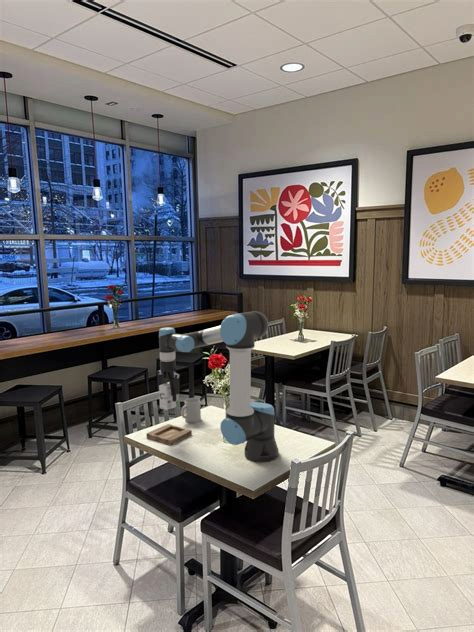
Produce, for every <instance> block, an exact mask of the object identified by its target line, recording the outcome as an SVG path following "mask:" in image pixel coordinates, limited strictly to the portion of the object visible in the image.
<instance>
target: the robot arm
mask: <svg viewBox="0 0 474 632" xmlns="http://www.w3.org/2000/svg"><path fill="white" fill-rule="evenodd" d="M268 330H269V320H268V318H267V317H266V315H265V314H263V313H262V312H261V311H256V310H255V311H254V310H252V311H246V312H240V313H233V314H231V315H230V314H229V315H228V316H226V317H225V318H224V319H223V320H222V321H221V324H220V325H217V326H214V327H210V328H206V329H202V330H199V331H194V332H193V331H192V332H189V333H182V334H181V333H176V329H175V328H174V327H169V326H168V327H162V328H159V330H158V331H159V332H158V344H159V345H158V346H159V347H158V349H159V360H160V361H159V367H160V370H157V371H156V375H157V391H158V392H159V385H161V384H165V383H167V382H169V383H170V388H171V393H172V394H171V408H170V409H174V408H177V406H176V400H177V397H176V395H177V394H178V395H179V394H180V393H181V391H180V389H181V388H180V387H181V386H180V377H181V374H180V373H177V372H176V367H177V365H176V364H177V363H176V362H177V361H176V351H179V352H181V353H190V352H191V351H192V350H193V349H197V348H200V347H201V348H202V347H206V346H210V345H214V344H218V343H222V342H223V343H225V348H227V350H229V407H227V409H226V411H225V412H226V413H225V418H224V419H222V421H221V422H220V425H219V427H220V428H219V429H220V432H221V435H222V437H223V438H224V439H225V440H226V442H227V443H229V444H230V445H233V446H238V445H241V444H244V443H245V442H246V444H245V447H244V450H243V451H244V457H245V458H246V459H248V460H249V461H253V462H257V463H265V462H266V463H267V462H271V461H274V460H276V459H277V458H279V454H280V453H279V447H278V444H277V441H276V438H275V408H274V406H273V405H272V404H270V403H265V402H261V401H260V402H259V401H258V402H257V401H256V402H251V393H252V391H251V390H252V389H251V388H252V387H251V386H252V385H251V383H252V382H251V381H252V380H251V376H252V375H251V370H252V361H251V360H252V359H251V358H252V357H251V356H252V350H253V349H254V348H255V346H256V345H255V344H256V342H255V340H258V339H260V338H262V337H264V336H265V335H266V334H267V332H268Z"/></svg>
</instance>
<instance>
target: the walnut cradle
mask: <svg viewBox="0 0 474 632" xmlns="http://www.w3.org/2000/svg"><path fill="white" fill-rule="evenodd" d="M192 432H193V431H192V430H191V429H188V428H185V427H181V426H177V425H173V424H170V423H167V424H165V425H162V426H160V427H158V428H156V429H153V430H151V431H149V432H147V433H146V439H149V440H153V441H157V442H159V443H162V444H166V445H169V446H172V445H175V444H176V443H177V442H180V441H183V440H184V439H186V438H188V437H190V436H192V434H193V433H192Z"/></svg>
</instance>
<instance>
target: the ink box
mask: <svg viewBox="0 0 474 632" xmlns="http://www.w3.org/2000/svg"><path fill="white" fill-rule="evenodd" d="M158 392H159V409H161V410H166V411H167V410H170V409H172V408H171V394H172V393H171V388H170V383H169V381H167V383H165V384H161V385H159V391H158ZM176 397H177V400H176V407H177V406H179V394H177V395H176Z"/></svg>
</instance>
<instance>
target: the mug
mask: <svg viewBox="0 0 474 632" xmlns="http://www.w3.org/2000/svg"><path fill="white" fill-rule="evenodd" d="M201 413H202V412H201V399H200V398H198V397H191V398H190V397H188V398H186V399H185V400H184V405H183V406H182V407H181V413H180V415H181V417H182V419H184V421H185V422H186V423H190V424H192V423H198V422H201V420H202V416H201V415H202V414H201Z"/></svg>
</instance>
